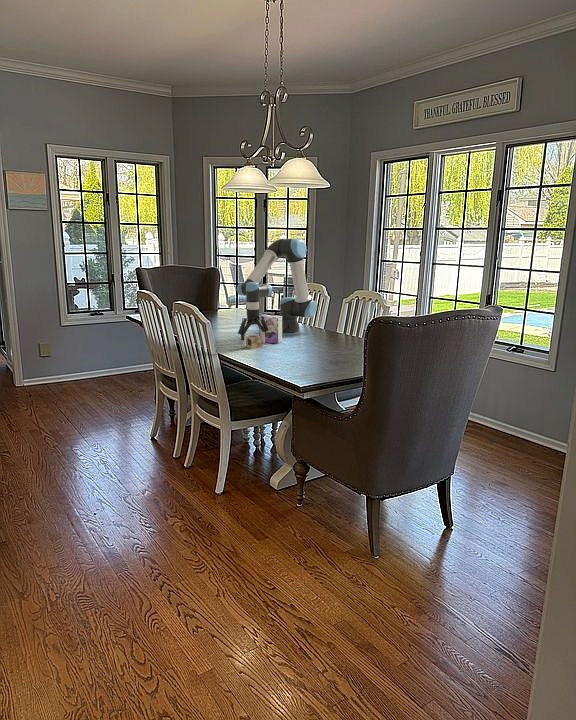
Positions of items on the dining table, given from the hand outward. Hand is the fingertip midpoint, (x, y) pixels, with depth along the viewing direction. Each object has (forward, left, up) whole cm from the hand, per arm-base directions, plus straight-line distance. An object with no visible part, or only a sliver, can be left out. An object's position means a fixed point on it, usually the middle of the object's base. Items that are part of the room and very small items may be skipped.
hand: (253, 344), depth 316 cm
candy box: (-16, -5, -2) cm, 18 cm away
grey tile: (-8, 0, -2) cm, 8 cm away
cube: (0, 0, -1) cm, 1 cm away
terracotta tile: (0, 0, -2) cm, 2 cm away
